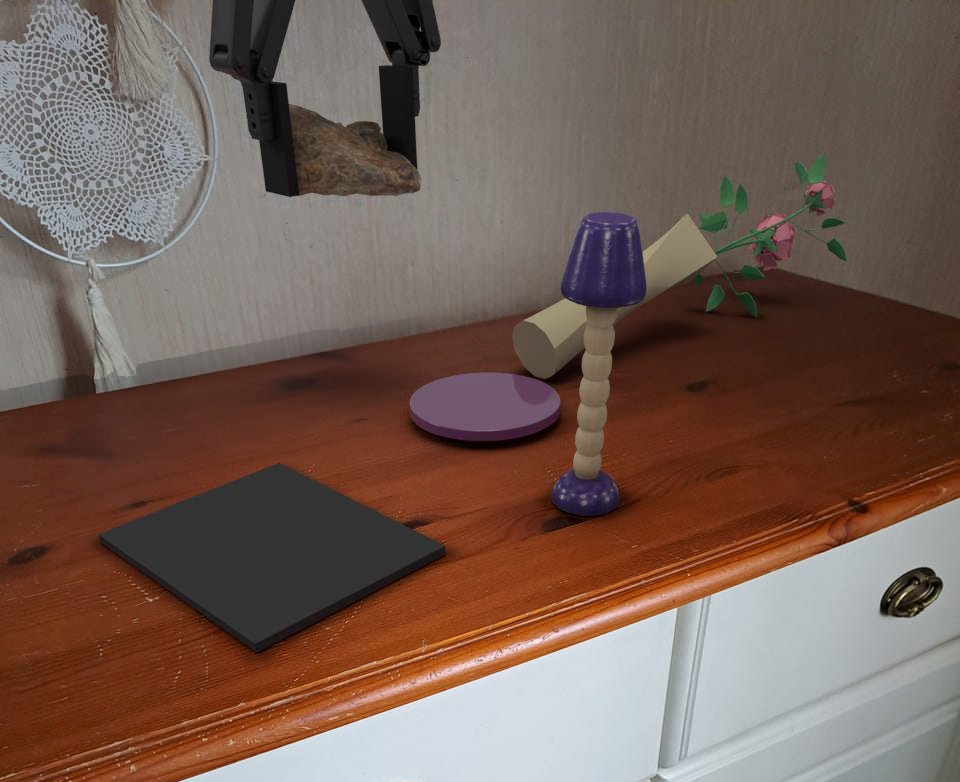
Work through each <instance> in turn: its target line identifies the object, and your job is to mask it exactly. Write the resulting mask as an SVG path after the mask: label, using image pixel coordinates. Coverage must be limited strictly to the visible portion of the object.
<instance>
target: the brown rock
mask: <svg viewBox="0 0 960 782" xmlns="http://www.w3.org/2000/svg"><path fill="white" fill-rule="evenodd" d="M289 110H290V119H291V128H292V136H293V145H294V154H295V163H296V172H297V180H298V189H299V195H298V196H297V197H301V196H304V195H307V194H317V195H321V196H338V197H348V196H352V195H362V196H363V195H364V196H369V197H377V196H379V197H380V196H381V197H382V196H383V197H385V196H386V197H387V196H389V197H390V196H393V197H398V196H400V195H404V194H416V193H418V192H419V191H420V190H421V188H422V177H421V174H420V172H419V170H418V168H417V169H416V168H415V167H414V166H413V165H412V164H411V163H410V161H409V160H408V159H407V158H406V157H404V156H403V155H401V154H400V153H397V152H391V151H387V140H386V138H385V137H384V135H383V132H381V130H382V128H381V126H380V125H379V122H375V121H371V120H369V121H368V120H359V121H358V120H357V121H354V122H352V123H349V124H347V125H346V126H344V125H343V123H342V122H334V121H332V120H330V119H328V118H326V117H324V116H322V114H320V113H319V112H317V111H315V110H311V109H308V108H305V107H301V106H300V105H297V104H291V103H289Z"/></svg>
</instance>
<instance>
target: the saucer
mask: <svg viewBox="0 0 960 782" xmlns="http://www.w3.org/2000/svg"><path fill="white" fill-rule="evenodd" d="M561 407H562V400H561V396H560V394H559V393H558V391H557V390H556V389H555V388H553V387H552V386H551V385H550V384H548V383H546V382H543V381H541V380H539V379H536V378H532V377H529V376H525V375H522V374H521V375H519V374H514V373H507V372H506V373H505V372H472V373H471V372H470V373H461V374H455V375H451V376H445V377H441V378H438V379H436V380H433V381H431V382H428V383H427V384H424V385H422V386H420V388H418V389H416V390H415V391H414V392H413V394H412V395H411V397H410V399H409V415H410V418H411V420H412V421H413V423H414V424H416V425H417V426H418V427H419V428H421V429H422V430H424V431H427V432H428V433H429V434H433V435H436V436H439V437H443V438H446V439H453V440H458V441H467V442H469V441H470V442H498V441H506V440H507V441H508V440H512V439H518V438H523V437H527V436H531V435H533V434H536V433H538V432H541V431H543V430H546V429H547V428H548V427H550V426H551V425H553V424H554V423H555V422H556V421H557V420H558V418H559V417H560V414H561Z"/></svg>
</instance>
